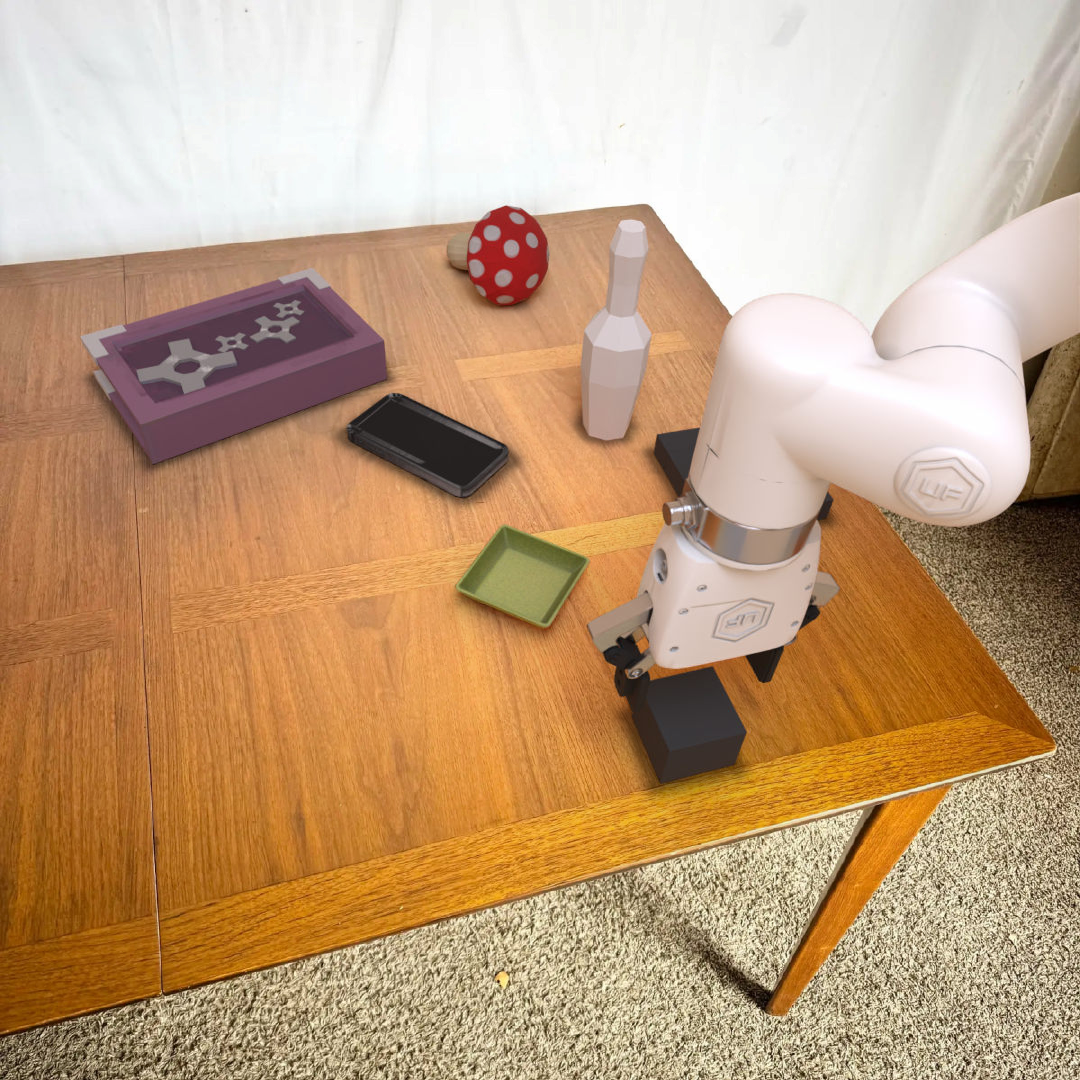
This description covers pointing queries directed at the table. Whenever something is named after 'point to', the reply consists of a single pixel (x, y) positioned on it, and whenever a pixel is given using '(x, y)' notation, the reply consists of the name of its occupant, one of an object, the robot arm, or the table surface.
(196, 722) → the table surface
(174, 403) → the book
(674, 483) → the frame pad
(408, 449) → the phone
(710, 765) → the black square block
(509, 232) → the decorative mushroom
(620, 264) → the faceted bottle
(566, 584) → the green square tray
